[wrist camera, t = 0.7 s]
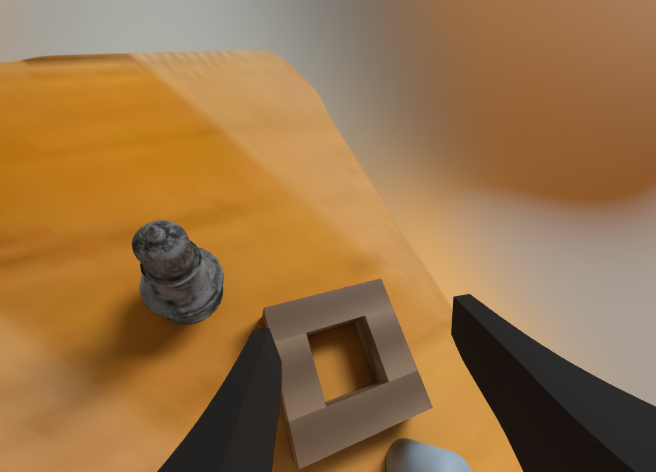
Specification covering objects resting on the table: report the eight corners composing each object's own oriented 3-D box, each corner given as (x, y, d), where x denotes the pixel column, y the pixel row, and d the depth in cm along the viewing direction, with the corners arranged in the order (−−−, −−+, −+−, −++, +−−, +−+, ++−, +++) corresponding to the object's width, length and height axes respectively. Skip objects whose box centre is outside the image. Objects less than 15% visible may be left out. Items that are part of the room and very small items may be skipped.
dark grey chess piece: (230, 319, 25) (217, 269, 15) (153, 335, 23) (77, 291, 13) (222, 258, 27) (207, 178, 17) (152, 268, 25) (87, 185, 15)
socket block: (414, 405, 25) (432, 407, 23) (293, 460, 21) (299, 469, 19) (369, 288, 30) (381, 278, 27) (262, 316, 26) (263, 307, 23)
